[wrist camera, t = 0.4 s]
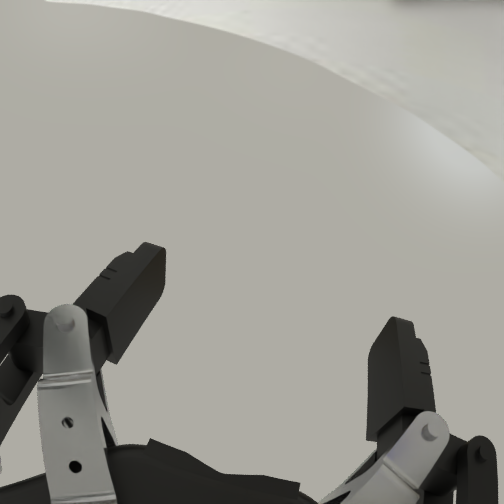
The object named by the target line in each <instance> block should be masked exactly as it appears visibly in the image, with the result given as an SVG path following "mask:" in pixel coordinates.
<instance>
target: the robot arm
mask: <svg viewBox="0 0 504 504" xmlns="http://www.w3.org/2000/svg"><path fill="white" fill-rule="evenodd" d="M165 271H166V250H165V248H163V247H160V246H157V245H154V244H151V243H147V242H144V243H143V244H141V245H140V247H139V248H138V249H137V250H136V251H135V252H134V253H131V252H125V253H123V254H121V255H120V256H118V257H116V258H114V260H112V262H111V263H110V264H109V265H108V266H107V267H106V269H104V270H103V271H102V272H101V273H100V276H98V277H97V278H96V279H95V280H94V281H93V282H92V283H91V284H90V285H89V287H88V288H87V289H86V290H85V291H84V292H83V293H82V294H81V296H80V297H79V298H78V299H77V300H76V301H75V302H74V303H73V304H64V305H60V306H57V307H55V308H53V309H52V310H51V311H50V312H49V313H46V312H39V311H34V310H28V309H26V306H25V303H24V301H23V300H22V299H21V298H20V297H19V296H16V295H6V296H2V297H0V364H1V362H2V361H3V359H4V358H5V357H6V355H7V354H8V356H7V357H6V359H5V360H4V361H3V363H2V364H1V366H0V445H1V443H2V441H3V440H4V438H5V436H6V434H7V432H8V430H9V429H10V427H11V425H12V423H13V422H14V420H15V418H16V416H17V415H18V413H19V411H20V410H21V408H22V406H23V404H24V403H25V401H26V399H27V398H28V396H29V395H30V393H31V391H32V390H33V388H34V386H35V385H36V383H37V382H38V385H37V396H38V412H39V424H40V434H41V443H42V451H43V458H44V465H45V470H46V473H43V474H40V475H37V476H34V477H31V478H29V479H25V480H22V481H19V482H16V483H13V484H10V485H6V486H3V487H0V504H453V492H454V490H456V489H457V494H456V504H498V475H497V459H496V451H495V448H494V445H493V444H492V442H491V441H490V440H489V439H488V438H486V437H484V436H475V437H474V438H472V439H471V440H470V441H468V442H467V441H464V440H462V439H460V438H457V437H456V436H454V435H451V434H450V433H449V428H448V425H447V423H446V421H445V420H444V419H443V418H442V417H441V416H440V415H439V414H437V413H436V409H435V400H434V392H433V385H432V378H431V376H430V374H431V371H430V366H429V359H428V353H427V350H426V348H425V346H424V344H423V343H422V341H421V339H419V338H416V336H415V331H414V325H413V323H412V322H411V321H408V320H404V319H401V318H397V317H391V318H390V319H389V320H388V322H387V323H386V325H385V327H384V328H383V330H382V331H381V333H380V334H379V336H378V337H377V339H376V340H375V342H374V343H373V345H372V347H371V349H370V352H369V357H368V405H367V406H368V407H367V431H366V440H367V441H375V442H377V449H376V450H374V452H372V453H371V455H370V456H369V457H368V458H367V459H366V460H365V461H364V462H363V463H362V464H361V465H360V466H359V467H358V468H357V469H356V470H355V471H354V472H353V473H352V474H351V475H350V476H349V477H348V478H347V479H346V480H345V481H344V482H343V483H342V484H341V485H340V486H339V487H337V488H336V489H335V490H334V491H332V492H331V493H329V494H328V495H327V496H326V497H324V498H323V499H322V500H321V501H319V502H318V503H317V502H316V501H314V500H313V499H312V498H310V497H309V496H307V495H306V494H304V493H302V492H300V491H299V487H300V483H298V482H293V481H288V480H283V479H278V478H274V477H269V476H265V475H235V474H223V473H220V472H218V471H216V470H214V469H213V468H211V467H209V466H207V465H206V464H204V463H203V462H201V461H199V460H198V459H196V458H194V457H193V456H191V455H190V454H188V453H186V452H184V451H181V450H178V449H176V448H173V447H171V446H168V445H166V444H163V443H160V442H158V441H155V440H153V439H151V438H150V440H149V442H148V444H147V445H138V444H137V445H136V444H128V445H127V444H126V445H118V442H117V438H116V435H115V431H114V428H113V425H112V421H111V418H110V414H109V408H108V403H107V398H106V393H105V387H104V381H103V375H102V370H101V368H102V366H103V364H104V363H105V361H106V360H108V361H110V362H112V363H114V364H117V363H118V362H119V360H120V359H121V357H122V355H123V354H124V352H125V351H126V349H127V348H128V346H129V344H130V343H131V341H132V340H133V338H134V337H135V335H136V334H137V332H138V331H139V329H140V327H141V326H142V324H143V323H144V321H145V320H146V318H147V317H148V315H149V314H150V312H151V311H152V309H153V308H154V306H155V305H156V303H157V302H158V300H159V299H160V297H161V295H162V293H163V290H164V286H165ZM42 374H43V379H40V380H39V378H40V377H41V375H42ZM1 471H2V466H1V458H0V473H1Z"/></svg>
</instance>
